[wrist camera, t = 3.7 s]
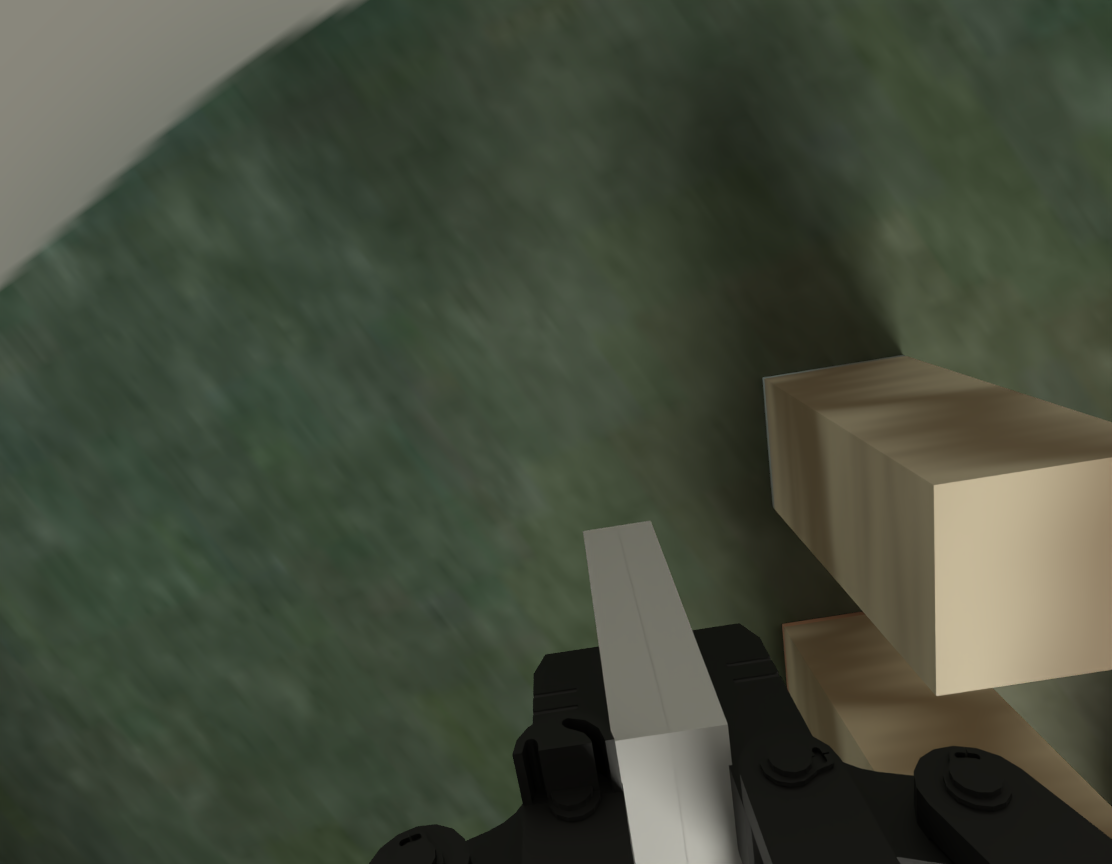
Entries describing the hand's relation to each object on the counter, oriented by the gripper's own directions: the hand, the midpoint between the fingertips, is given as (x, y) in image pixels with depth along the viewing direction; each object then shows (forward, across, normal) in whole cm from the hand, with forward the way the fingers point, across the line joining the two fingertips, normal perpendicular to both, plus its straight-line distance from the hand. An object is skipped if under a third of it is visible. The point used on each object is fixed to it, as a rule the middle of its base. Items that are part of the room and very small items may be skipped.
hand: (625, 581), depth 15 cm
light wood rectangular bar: (+8, +8, 0) cm, 11 cm away
